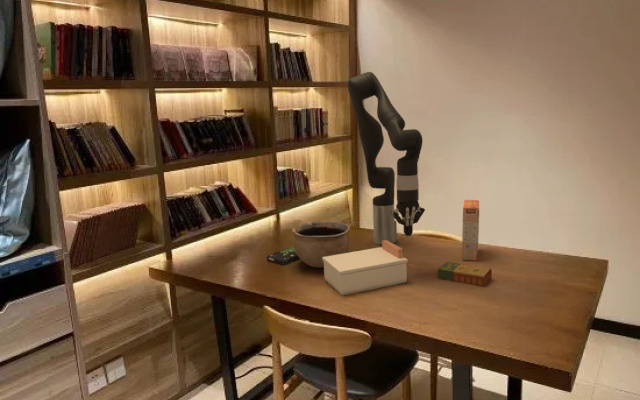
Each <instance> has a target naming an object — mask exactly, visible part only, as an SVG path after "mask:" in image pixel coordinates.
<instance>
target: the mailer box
mask: <svg viewBox="0 0 640 400" xmlns="http://www.w3.org/2000/svg"><path fill="white" fill-rule="evenodd" d="M323 273H324V274H323V275H324V280H325V282H327V283H328V284H329V285H330V286H331V287H332V288H333V289H334V290H336V291H337V292H338V293H339V294H340V295H341V296H345V295H346V296H347V295H351V294H356V293H361V292H366V291H371V290H376V289H377V290H378V289H381V288H385V287H390V286H396V285H400V284H406V283H407V281H408V280H407V278H408V277H407V262H406V263H400V264H395V265H390V266H384V267H379V268H373V269H368V270H363V271H357V272H352V273H346V274H341V275H340V274H339V273H337V272H336V271H335V270H334V269H333V268H331V267H330V266H329V265H328V264H327V263H326V262H324V267H323Z"/></svg>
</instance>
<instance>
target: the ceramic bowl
mask: <svg viewBox="0 0 640 400" xmlns="http://www.w3.org/2000/svg"><path fill="white" fill-rule="evenodd" d="M350 230H351V226H350V225H348V224H347V223H342V222H340V221H332V220H329V221H327V220H316V221H311V223H308V222H304V223H300V224H298V229H297V228H295V227H293V228H292V233H293V235H294V238H293V247H294V249H295V252H296V253H297V255H298V257H299V258H300V260H301V261H302V262H303V263H304V264H305V265H307V266H309V267H311V268H318V269H319V268H324V261H323V260H322V257H326V256H332V255H338V254H344V253H349V252H348V251H349V250H350V237H349V232H350Z"/></svg>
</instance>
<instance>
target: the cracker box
mask: <svg viewBox="0 0 640 400" xmlns="http://www.w3.org/2000/svg"><path fill="white" fill-rule="evenodd" d="M463 201H464V202H463V206H462V207H463V208H462V237H461V238H462V239H461V246H462V247H461V259H462V261H471V262H472V261H473V262H475V261H478V257H479V256H478V252H479V231H480V201H479V200H477V199H465V200H463Z"/></svg>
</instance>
